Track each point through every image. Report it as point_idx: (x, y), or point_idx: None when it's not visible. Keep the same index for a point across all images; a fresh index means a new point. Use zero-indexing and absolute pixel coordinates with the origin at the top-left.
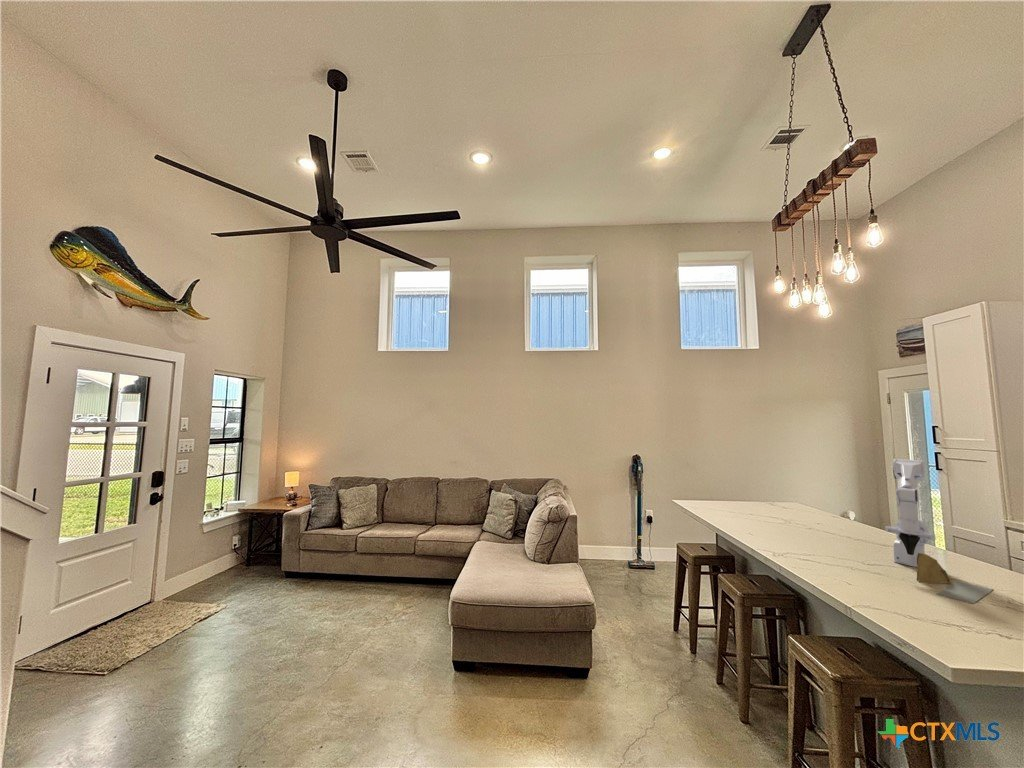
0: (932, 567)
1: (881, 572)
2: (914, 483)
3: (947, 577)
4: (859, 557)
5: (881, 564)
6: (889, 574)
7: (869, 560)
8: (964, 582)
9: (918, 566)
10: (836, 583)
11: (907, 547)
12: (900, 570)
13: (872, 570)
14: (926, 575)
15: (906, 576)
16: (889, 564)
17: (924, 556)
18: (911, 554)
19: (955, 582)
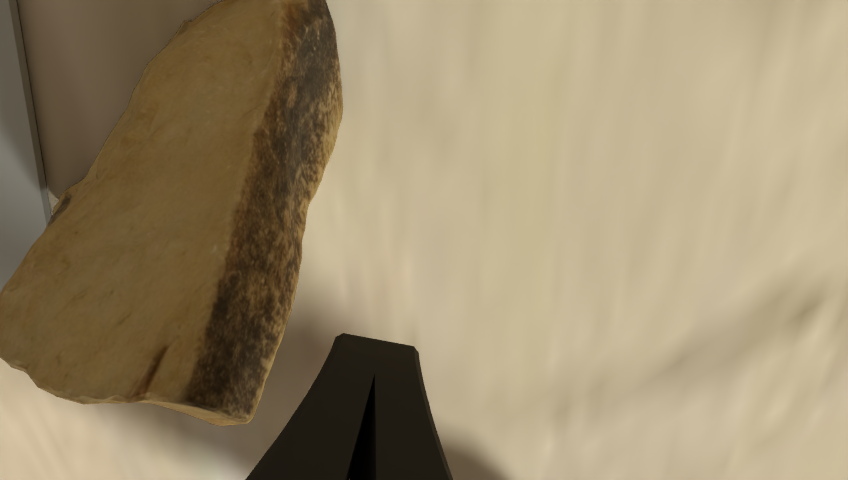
0: (80, 188)
1: (721, 59)
2: None
3: (48, 226)
4: (826, 472)
5: (663, 393)
6: (632, 41)
7: (752, 442)
8: None
9: (257, 113)
10: None
11: (394, 467)
12: (508, 320)
13: (825, 65)
14: (192, 44)
15: (449, 124)
16: (592, 438)
17: (115, 342)
18: (342, 339)
19: None
